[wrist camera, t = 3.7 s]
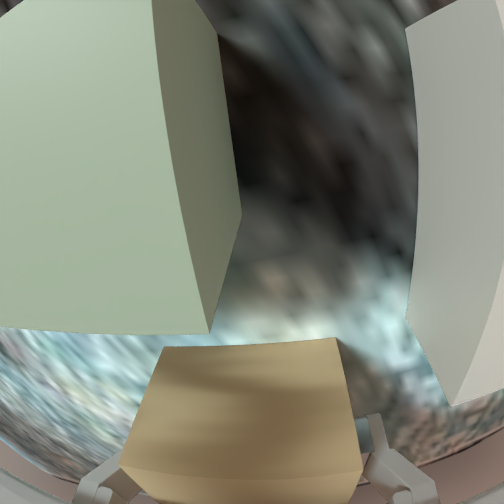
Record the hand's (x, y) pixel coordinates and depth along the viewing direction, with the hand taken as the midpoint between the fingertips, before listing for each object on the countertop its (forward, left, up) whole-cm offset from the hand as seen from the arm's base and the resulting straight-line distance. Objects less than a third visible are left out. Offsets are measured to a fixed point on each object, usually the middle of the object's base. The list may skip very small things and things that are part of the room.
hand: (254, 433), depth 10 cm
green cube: (-2, +10, -2) cm, 10 cm away
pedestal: (+10, +8, -2) cm, 13 cm away
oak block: (0, 0, -2) cm, 2 cm away
